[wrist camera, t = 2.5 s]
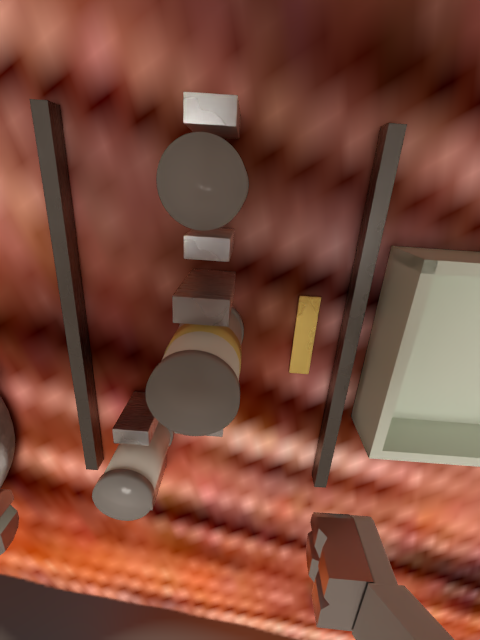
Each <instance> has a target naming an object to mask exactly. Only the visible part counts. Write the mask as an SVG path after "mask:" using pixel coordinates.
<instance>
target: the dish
mask: <svg viewBox="0 0 480 640" xmlns="http://www.w3.org/2000/svg"><path fill="white" fill-rule="evenodd" d="M14 450H15V434H14V427H13V423H12V420H11V417H10V414H9V411H8V409H7V407H6V405H5V404H4V402H3V400H2V398H1V396H0V488H1V486H2V484H3V482H4V480H5V478H6V476H7V474H8V471H9V469H10V467H11V464H12V461H13V456H14Z"/></svg>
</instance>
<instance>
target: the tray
mask: <svg viewBox="0 0 480 640" xmlns="http://www.w3.org/2000/svg"><path fill="white" fill-rule="evenodd" d="M351 417H352V420H353V422H354V424H355V427H356V429H357V431H358V434H359V436H360V438H361V441H362V443H363V445H364V448H365V450H366V452H367V455H368V457H369V458H372V459H386V460H399V461H412V462H425V463H438V464H451V465H465V466H478V467H480V252H475V251H461V250H446V249H432V248H418V247H404V246H391V250H390V254H389V259H388V263H387V267H386V271H385V275H384V280H383V284H382V288H381V292H380V296H379V301H378V305H377V309H376V313H375V318H374V322H373V326H372V330H371V334H370V339H369V343H368V347H367V351H366V356H365V360H364V364H363V368H362V372H361V377H360V381H359V385H358V389H357V393H356V398H355V402H354V406H353V410H352V415H351Z"/></svg>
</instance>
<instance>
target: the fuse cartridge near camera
mask: <svg viewBox="0 0 480 640" xmlns="http://www.w3.org/2000/svg"><path fill="white" fill-rule="evenodd" d="M173 436H174V431H172V430H170V429H168V428H166V427H165V426H163V425H162V424H161V423H160V422H158V424H157V427H156V429H155V432H154V434H153V437H152V439H151V442H150V444H149V446H147V445H134V444H121V443H120V444H119V446H118V447H117V449H116V451H115V453H114V455H113V457H112V459H111V461H110V463H109V465H108V467H107V469H106V471H105V473H104V474H103V475H102V476H101V477H100V478H99V480H98V482H97V484H96V486H95V488H94V490H93V493H92V498H93V501H94V504H95V505H96V507H97V508H98V509H99V510H100V511H101V512H102V513H104V514H105V515H107V516H109V517H111V518H114V519H118V520H125V521H129V520H136V519H139V518H142V517H143V516H145V515H146V514H147V513H148V512H149V510H150V508H151V505H152V502H153V499H154V495H155V492H154V490H155V487H156V484H157V481H158V478H159V475H160V472H161V469H162V465H163V462H164V459H165V456H166V453H167V450H168V447H169V446H170V445H171V442H172V439H173Z"/></svg>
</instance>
